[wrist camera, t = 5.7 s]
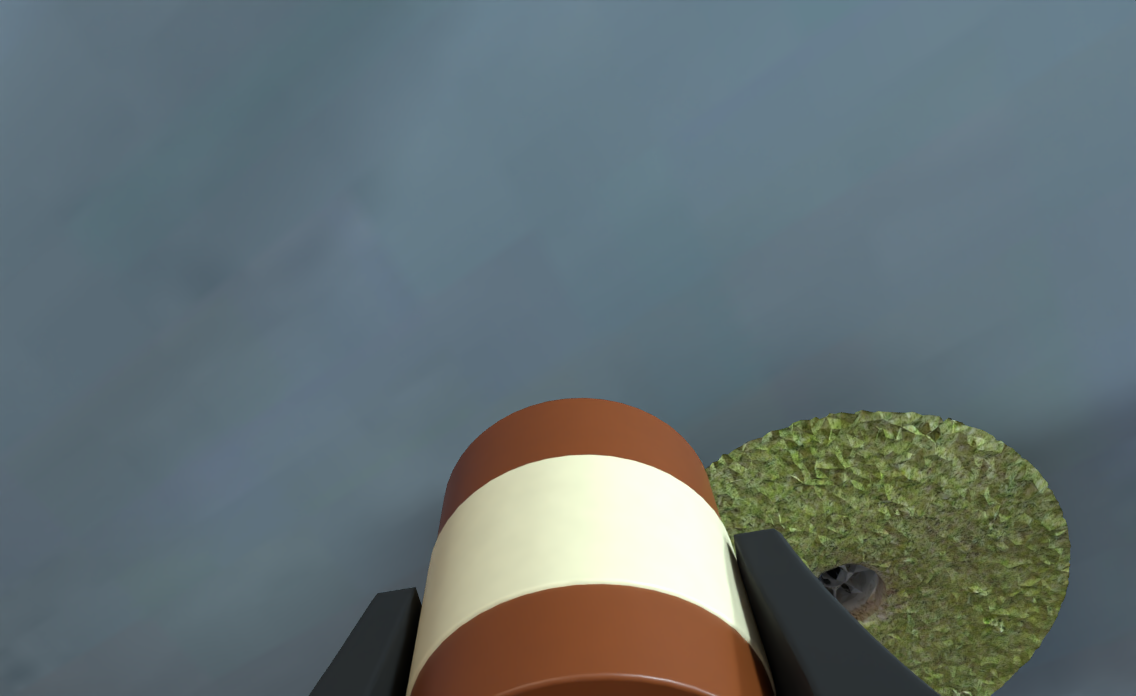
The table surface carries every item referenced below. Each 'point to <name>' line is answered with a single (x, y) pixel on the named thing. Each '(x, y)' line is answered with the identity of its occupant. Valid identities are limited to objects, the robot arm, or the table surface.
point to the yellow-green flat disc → (912, 535)
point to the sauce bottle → (584, 566)
